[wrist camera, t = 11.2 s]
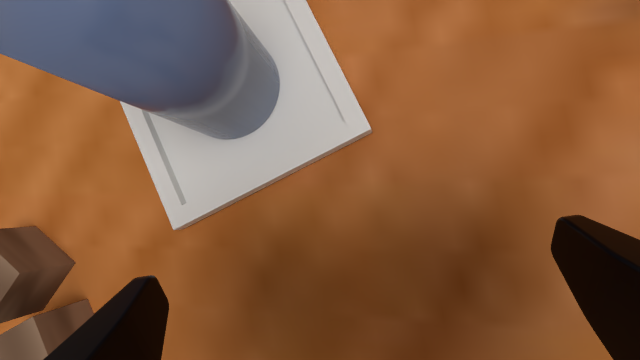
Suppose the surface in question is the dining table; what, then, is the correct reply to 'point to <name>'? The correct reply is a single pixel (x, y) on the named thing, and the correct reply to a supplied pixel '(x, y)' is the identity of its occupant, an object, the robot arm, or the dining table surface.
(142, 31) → the blue cylinder
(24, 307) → the walnut block
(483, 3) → the dining table surface
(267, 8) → the tray
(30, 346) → the walnut block
